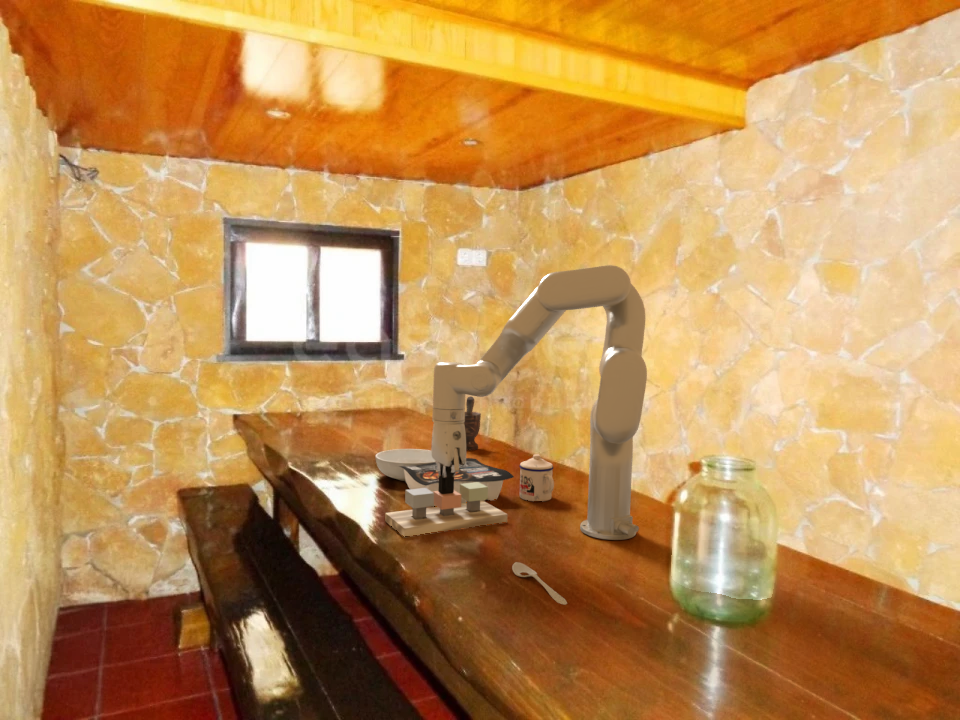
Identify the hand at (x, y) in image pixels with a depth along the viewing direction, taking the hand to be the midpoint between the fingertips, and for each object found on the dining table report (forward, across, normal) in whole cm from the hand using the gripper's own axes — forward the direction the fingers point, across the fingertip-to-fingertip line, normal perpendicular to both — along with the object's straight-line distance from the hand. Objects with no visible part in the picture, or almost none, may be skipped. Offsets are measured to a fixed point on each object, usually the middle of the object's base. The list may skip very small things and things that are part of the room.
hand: (446, 492), depth 153 cm
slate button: (+5, 0, +7) cm, 8 cm away
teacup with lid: (+7, +8, -31) cm, 33 cm away
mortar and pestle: (+7, +72, -43) cm, 84 cm away
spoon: (+7, -41, 0) cm, 42 cm away
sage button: (+5, 0, -7) cm, 9 cm away
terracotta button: (+6, 0, 0) cm, 6 cm away
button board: (+7, 0, 0) cm, 7 cm away
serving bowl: (+8, +42, -8) cm, 43 cm away
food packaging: (+8, +20, -12) cm, 24 cm away
